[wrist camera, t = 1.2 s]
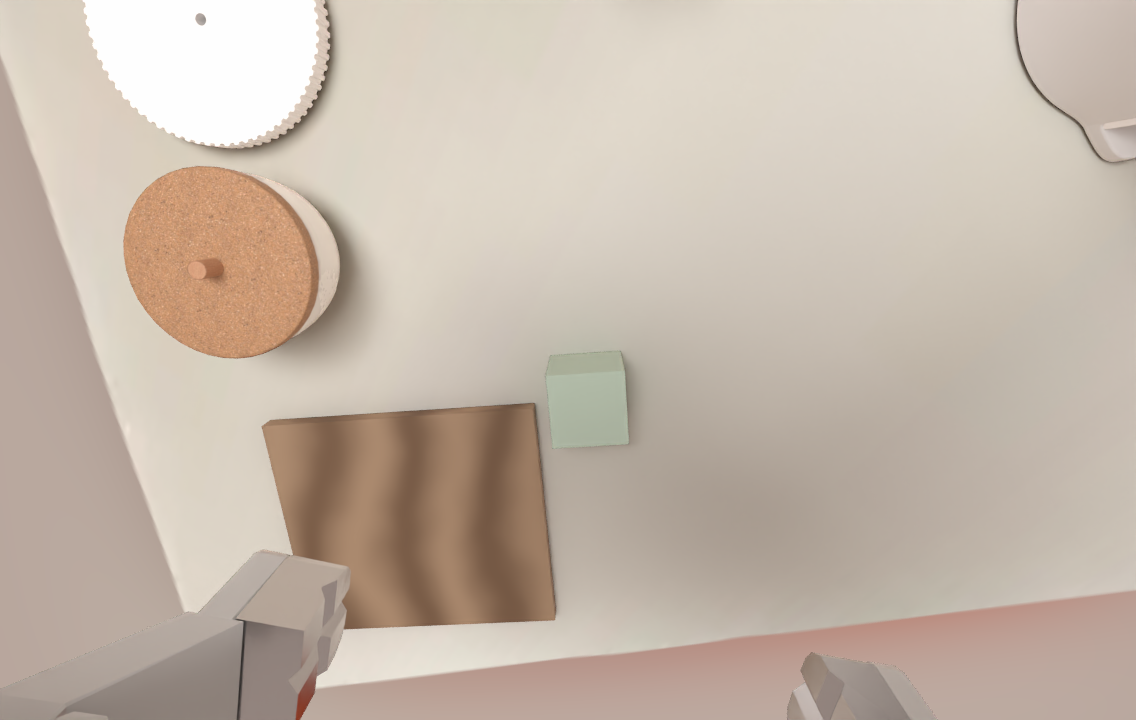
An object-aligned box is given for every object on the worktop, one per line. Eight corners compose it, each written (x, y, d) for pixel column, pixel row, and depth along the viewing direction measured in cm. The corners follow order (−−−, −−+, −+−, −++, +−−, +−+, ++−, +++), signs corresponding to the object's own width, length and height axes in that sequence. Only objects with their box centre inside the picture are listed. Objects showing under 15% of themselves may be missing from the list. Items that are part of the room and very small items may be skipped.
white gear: (192, 182, 38) (165, 181, 35) (73, -38, 35) (34, -57, 32) (375, 99, 36) (359, 91, 34) (268, -143, 33) (242, -171, 30)
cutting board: (534, 402, 41) (532, 408, 40) (555, 609, 46) (554, 620, 45) (270, 420, 42) (261, 426, 41) (318, 620, 47) (311, 630, 46)
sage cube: (620, 350, 40) (624, 370, 35) (624, 415, 41) (629, 444, 36) (550, 355, 40) (545, 376, 35) (556, 420, 41) (552, 448, 37)
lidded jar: (377, 199, 37) (310, 198, 28) (350, 347, 40) (282, 389, 31) (219, 153, 37) (101, 137, 28) (204, 306, 40) (91, 337, 31)
